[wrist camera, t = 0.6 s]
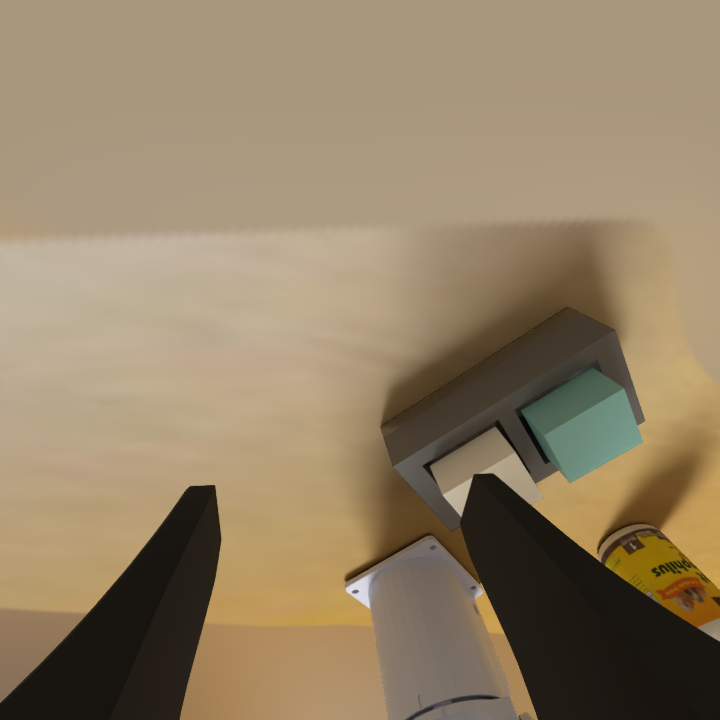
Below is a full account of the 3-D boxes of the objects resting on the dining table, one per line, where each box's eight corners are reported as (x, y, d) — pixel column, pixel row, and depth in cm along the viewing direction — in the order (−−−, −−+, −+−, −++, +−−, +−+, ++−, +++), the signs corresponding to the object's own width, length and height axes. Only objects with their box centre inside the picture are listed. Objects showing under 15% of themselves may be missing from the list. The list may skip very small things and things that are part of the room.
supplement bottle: (667, 518, 31) (820, 661, 22) (638, 561, 33) (765, 706, 24) (609, 521, 30) (745, 672, 21) (584, 566, 32) (695, 718, 23)
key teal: (612, 418, 20) (643, 442, 18) (546, 456, 20) (570, 483, 19) (592, 367, 18) (623, 388, 16) (520, 410, 19) (544, 435, 17)
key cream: (522, 470, 21) (543, 497, 19) (462, 505, 21) (476, 535, 20) (495, 426, 19) (515, 452, 17) (429, 466, 19) (442, 495, 18)
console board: (600, 389, 23) (612, 397, 22) (433, 488, 25) (438, 500, 24) (568, 306, 20) (580, 312, 19) (380, 427, 22) (383, 437, 21)
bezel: (612, 397, 22) (645, 421, 20) (438, 500, 24) (451, 531, 22) (580, 312, 19) (614, 329, 17) (383, 437, 21) (392, 466, 19)
